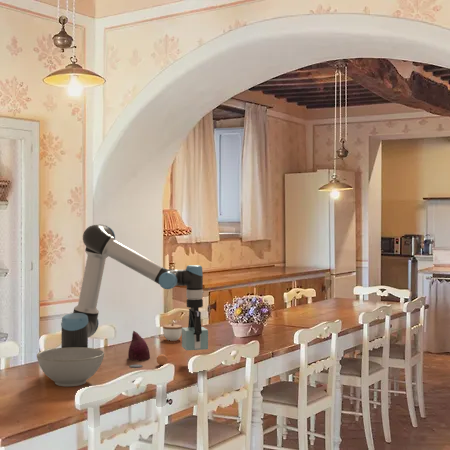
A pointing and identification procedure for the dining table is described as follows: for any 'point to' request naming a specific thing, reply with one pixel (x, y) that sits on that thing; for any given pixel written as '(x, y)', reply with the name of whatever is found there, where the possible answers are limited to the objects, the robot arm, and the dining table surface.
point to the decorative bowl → (70, 364)
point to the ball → (162, 359)
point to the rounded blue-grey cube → (189, 338)
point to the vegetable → (138, 348)
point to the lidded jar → (172, 331)
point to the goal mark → (135, 366)
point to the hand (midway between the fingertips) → (194, 346)
